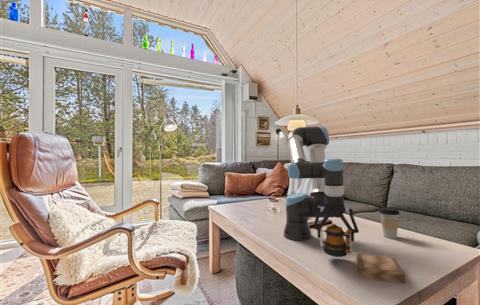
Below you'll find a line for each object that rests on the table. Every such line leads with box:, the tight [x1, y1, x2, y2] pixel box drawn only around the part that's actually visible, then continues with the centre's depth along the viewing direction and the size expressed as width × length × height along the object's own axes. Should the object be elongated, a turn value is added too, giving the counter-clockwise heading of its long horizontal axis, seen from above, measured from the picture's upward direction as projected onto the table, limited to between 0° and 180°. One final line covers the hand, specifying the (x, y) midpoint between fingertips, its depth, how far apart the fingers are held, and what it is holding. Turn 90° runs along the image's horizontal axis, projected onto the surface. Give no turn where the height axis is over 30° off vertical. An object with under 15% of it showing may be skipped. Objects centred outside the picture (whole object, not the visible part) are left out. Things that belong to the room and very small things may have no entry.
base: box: [356, 253, 407, 284], centre depth 89 cm, size 14×14×3 cm
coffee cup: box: [378, 206, 400, 240], centre depth 125 cm, size 9×9×15 cm
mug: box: [322, 223, 352, 258], centre depth 98 cm, size 13×10×12 cm
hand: (335, 246), depth 98 cm, fingers closed on mug, 10 cm apart
